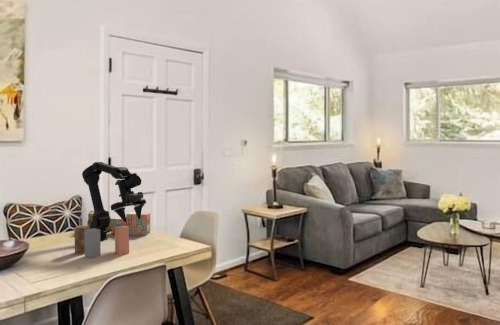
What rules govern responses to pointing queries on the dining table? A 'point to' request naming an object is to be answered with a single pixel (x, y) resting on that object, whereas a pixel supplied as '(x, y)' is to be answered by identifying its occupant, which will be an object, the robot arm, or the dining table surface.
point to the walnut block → (80, 239)
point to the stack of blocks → (133, 223)
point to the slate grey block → (92, 243)
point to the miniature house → (90, 219)
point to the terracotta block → (122, 240)
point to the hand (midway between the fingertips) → (132, 220)
